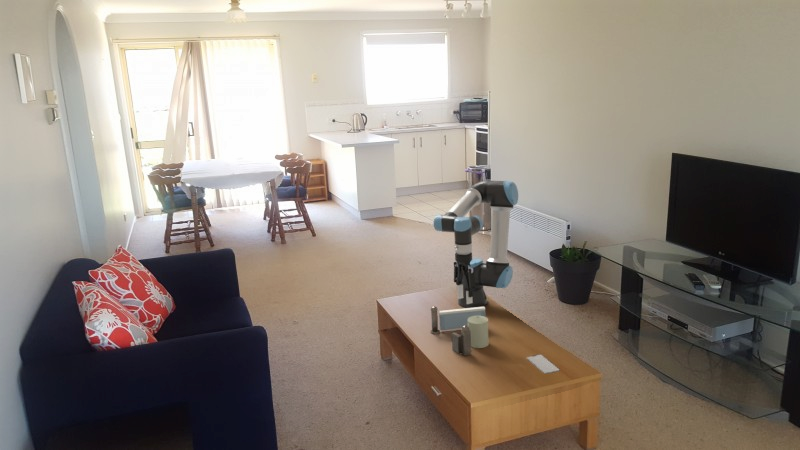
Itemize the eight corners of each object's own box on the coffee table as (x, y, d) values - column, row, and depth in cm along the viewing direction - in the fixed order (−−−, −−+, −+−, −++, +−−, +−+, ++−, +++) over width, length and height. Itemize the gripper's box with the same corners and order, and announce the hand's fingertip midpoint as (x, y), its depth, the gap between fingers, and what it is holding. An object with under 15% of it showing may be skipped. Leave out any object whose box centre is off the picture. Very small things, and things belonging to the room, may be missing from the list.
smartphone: (544, 373, 228) (525, 357, 242) (544, 375, 228) (525, 358, 242) (560, 370, 230) (541, 353, 244) (560, 371, 230) (541, 355, 244)
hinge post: (436, 329, 275) (435, 304, 271) (441, 332, 271) (440, 306, 268) (428, 331, 273) (427, 306, 270) (433, 334, 269) (432, 309, 266)
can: (488, 338, 262) (487, 314, 259) (489, 348, 253) (488, 322, 250) (467, 339, 263) (467, 314, 260) (468, 348, 254) (467, 322, 251)
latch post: (461, 347, 255) (460, 319, 252) (471, 354, 248) (471, 326, 245) (452, 349, 253) (451, 322, 250) (462, 357, 246) (461, 328, 243)
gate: (440, 330, 271) (440, 312, 268) (439, 328, 273) (439, 310, 271) (485, 326, 273) (485, 308, 271) (484, 324, 275) (484, 306, 273)
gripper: (444, 248, 264) (446, 296, 269) (468, 259, 247) (470, 309, 252) (458, 245, 267) (460, 292, 272) (483, 256, 250) (484, 305, 255)
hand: (464, 300), depth 262 cm, fingers open, 7 cm apart
